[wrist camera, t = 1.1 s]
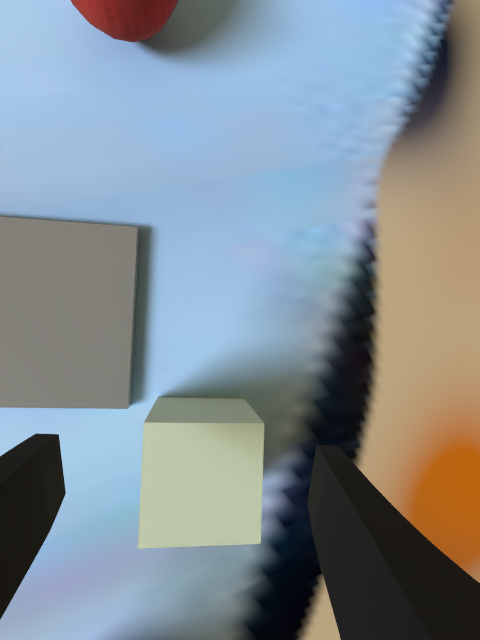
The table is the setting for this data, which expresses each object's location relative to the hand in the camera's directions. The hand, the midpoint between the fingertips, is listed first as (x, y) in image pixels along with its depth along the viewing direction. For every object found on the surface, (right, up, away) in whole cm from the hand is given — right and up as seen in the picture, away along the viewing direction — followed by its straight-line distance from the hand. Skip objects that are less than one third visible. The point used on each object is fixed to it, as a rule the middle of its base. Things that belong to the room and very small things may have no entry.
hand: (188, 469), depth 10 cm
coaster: (-9, +5, +10) cm, 14 cm away
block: (-1, -3, +11) cm, 11 cm away
